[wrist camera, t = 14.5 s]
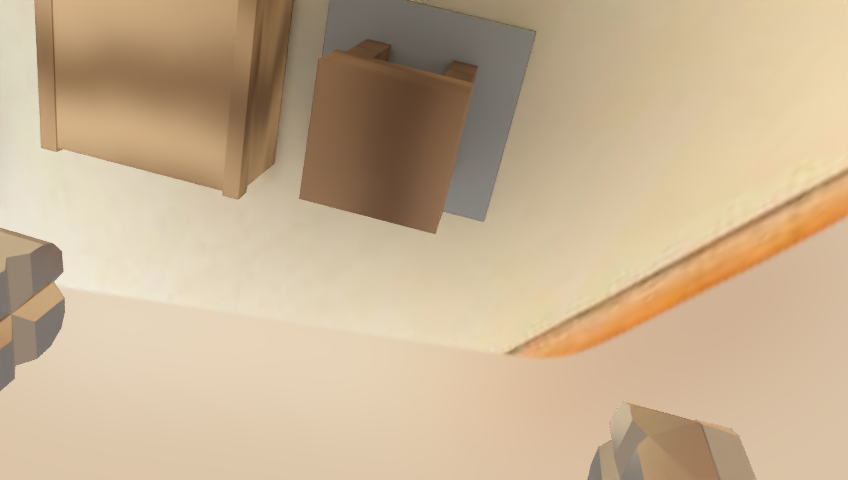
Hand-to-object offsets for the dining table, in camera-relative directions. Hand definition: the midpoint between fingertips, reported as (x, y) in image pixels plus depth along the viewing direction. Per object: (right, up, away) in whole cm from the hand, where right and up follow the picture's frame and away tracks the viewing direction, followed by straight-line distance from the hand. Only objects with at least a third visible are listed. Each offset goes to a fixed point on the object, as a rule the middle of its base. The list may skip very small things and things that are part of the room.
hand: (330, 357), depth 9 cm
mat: (+1, +9, +25) cm, 26 cm away
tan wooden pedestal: (-11, +12, +25) cm, 30 cm away
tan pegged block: (+1, +8, +24) cm, 26 cm away
